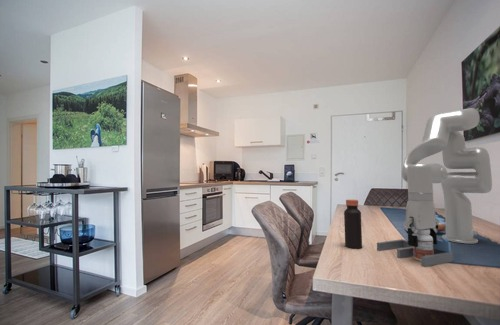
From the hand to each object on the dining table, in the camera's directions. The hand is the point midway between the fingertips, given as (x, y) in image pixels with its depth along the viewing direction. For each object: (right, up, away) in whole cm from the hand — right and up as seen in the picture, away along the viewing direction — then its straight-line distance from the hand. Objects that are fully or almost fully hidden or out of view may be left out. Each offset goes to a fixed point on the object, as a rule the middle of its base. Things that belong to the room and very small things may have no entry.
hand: (422, 244), depth 88 cm
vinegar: (-18, -7, +16) cm, 25 cm away
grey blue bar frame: (-1, -6, +4) cm, 7 cm away
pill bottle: (0, -6, 0) cm, 6 cm away
